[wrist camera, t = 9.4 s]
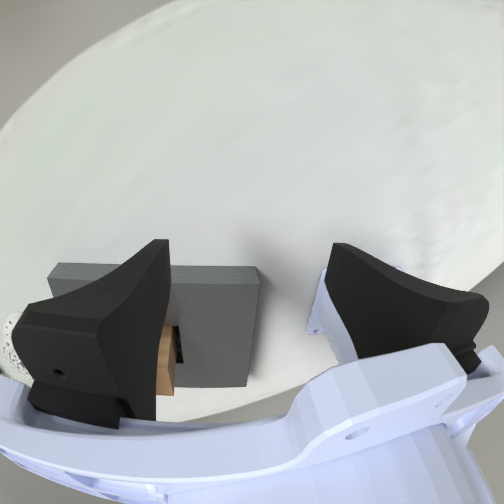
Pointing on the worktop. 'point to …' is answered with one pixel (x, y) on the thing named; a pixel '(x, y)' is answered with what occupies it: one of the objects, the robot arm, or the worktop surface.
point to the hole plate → (195, 317)
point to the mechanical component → (8, 345)
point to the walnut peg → (167, 361)
